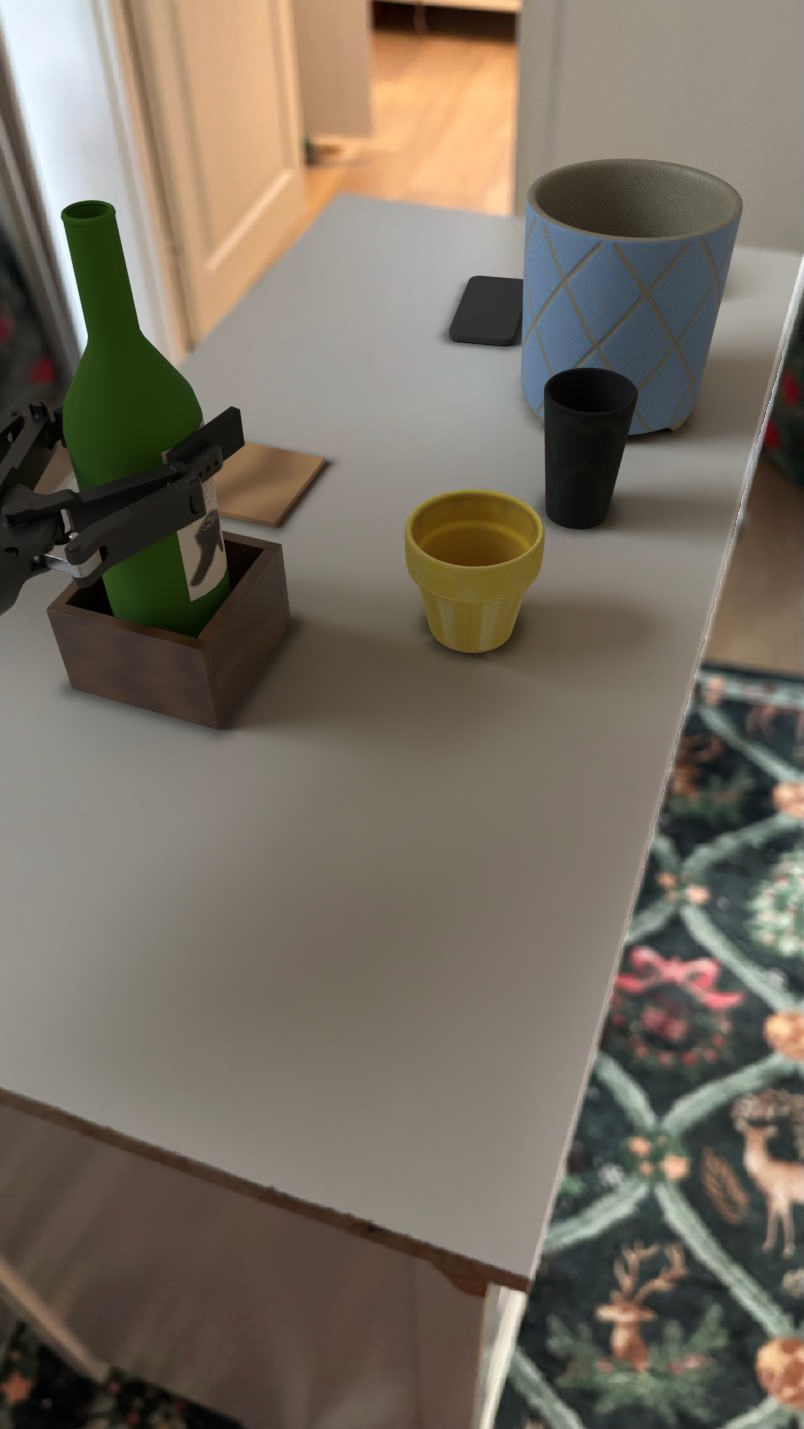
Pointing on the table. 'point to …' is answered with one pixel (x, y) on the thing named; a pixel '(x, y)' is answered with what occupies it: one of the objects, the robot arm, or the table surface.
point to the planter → (626, 279)
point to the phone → (489, 311)
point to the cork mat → (263, 483)
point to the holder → (179, 641)
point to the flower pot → (473, 564)
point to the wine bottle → (136, 433)
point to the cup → (584, 443)
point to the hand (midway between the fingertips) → (181, 406)
